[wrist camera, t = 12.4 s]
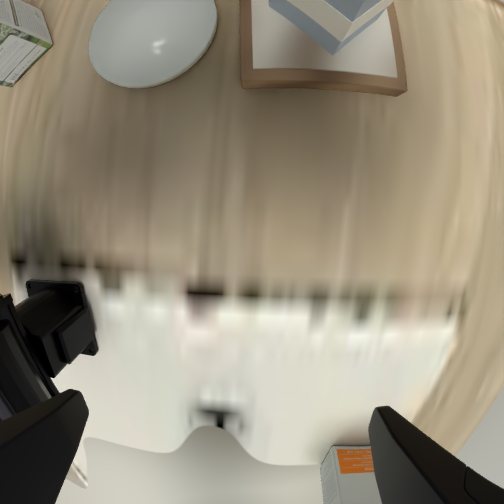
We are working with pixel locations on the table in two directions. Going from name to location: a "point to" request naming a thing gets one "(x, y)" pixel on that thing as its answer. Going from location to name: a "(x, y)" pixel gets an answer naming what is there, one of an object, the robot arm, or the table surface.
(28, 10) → the syrup box
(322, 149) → the table surface
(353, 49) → the tray
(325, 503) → the skincare box
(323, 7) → the carton
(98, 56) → the saucer
